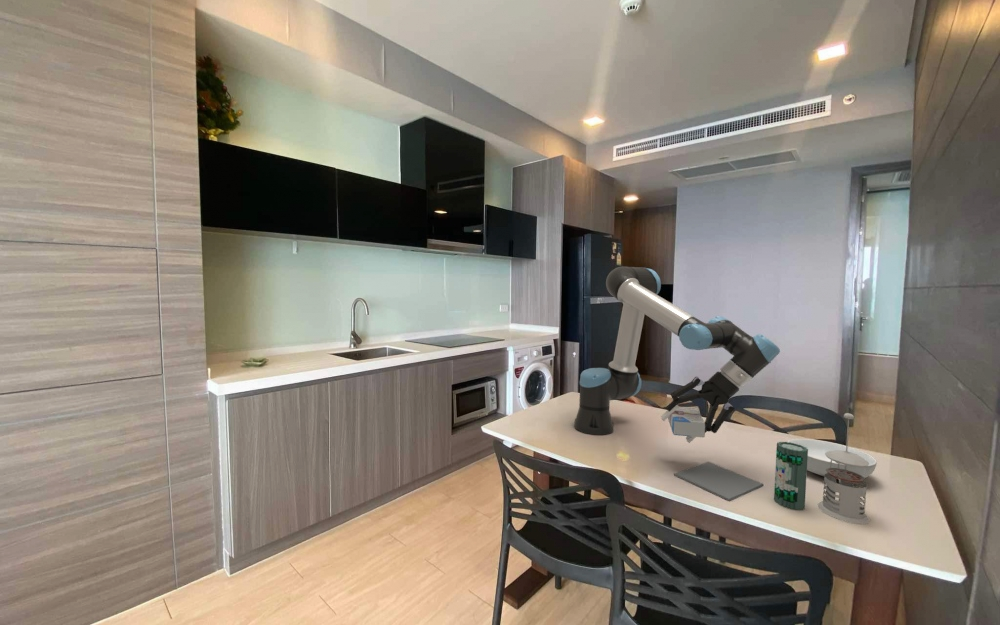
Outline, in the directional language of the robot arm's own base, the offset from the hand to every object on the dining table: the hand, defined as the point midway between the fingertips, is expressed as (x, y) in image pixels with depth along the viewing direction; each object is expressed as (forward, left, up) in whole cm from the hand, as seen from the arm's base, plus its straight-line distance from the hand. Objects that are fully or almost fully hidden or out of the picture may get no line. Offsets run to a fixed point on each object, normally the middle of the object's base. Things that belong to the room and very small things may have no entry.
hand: (674, 429), depth 120 cm
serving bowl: (+26, +38, -12) cm, 47 cm away
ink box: (+7, -3, +3) cm, 8 cm away
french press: (+37, +15, -11) cm, 41 cm away
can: (+29, +7, -11) cm, 32 cm away
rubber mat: (+13, +2, -11) cm, 17 cm away
